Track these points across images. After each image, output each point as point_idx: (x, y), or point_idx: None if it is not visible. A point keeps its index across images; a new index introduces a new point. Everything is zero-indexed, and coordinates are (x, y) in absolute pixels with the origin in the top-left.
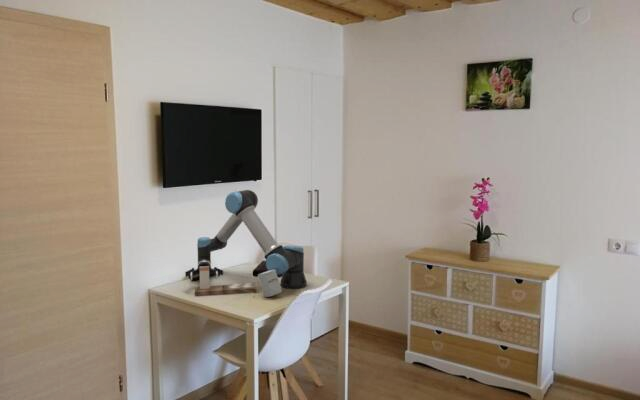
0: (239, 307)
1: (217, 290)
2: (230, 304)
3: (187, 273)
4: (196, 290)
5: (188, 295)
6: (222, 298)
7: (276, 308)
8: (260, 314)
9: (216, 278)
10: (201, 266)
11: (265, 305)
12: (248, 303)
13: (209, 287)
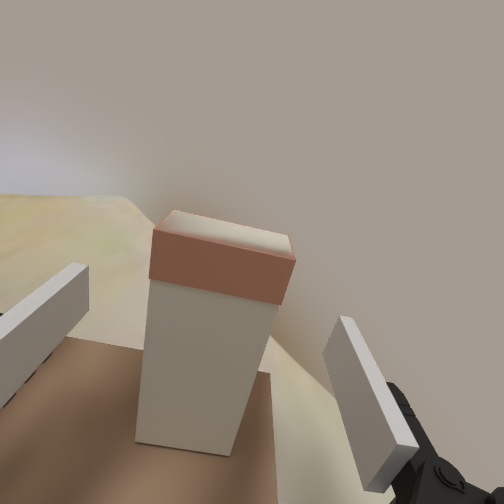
0: (112, 232)
1: (108, 344)
2: (125, 254)
3: (470, 487)
4: (260, 398)
5: (309, 435)
6: (115, 310)
7: (14, 196)
8: (93, 197)
9: (88, 307)
10: (266, 250)
11: (17, 213)
12: (54, 238)
13: (129, 455)
